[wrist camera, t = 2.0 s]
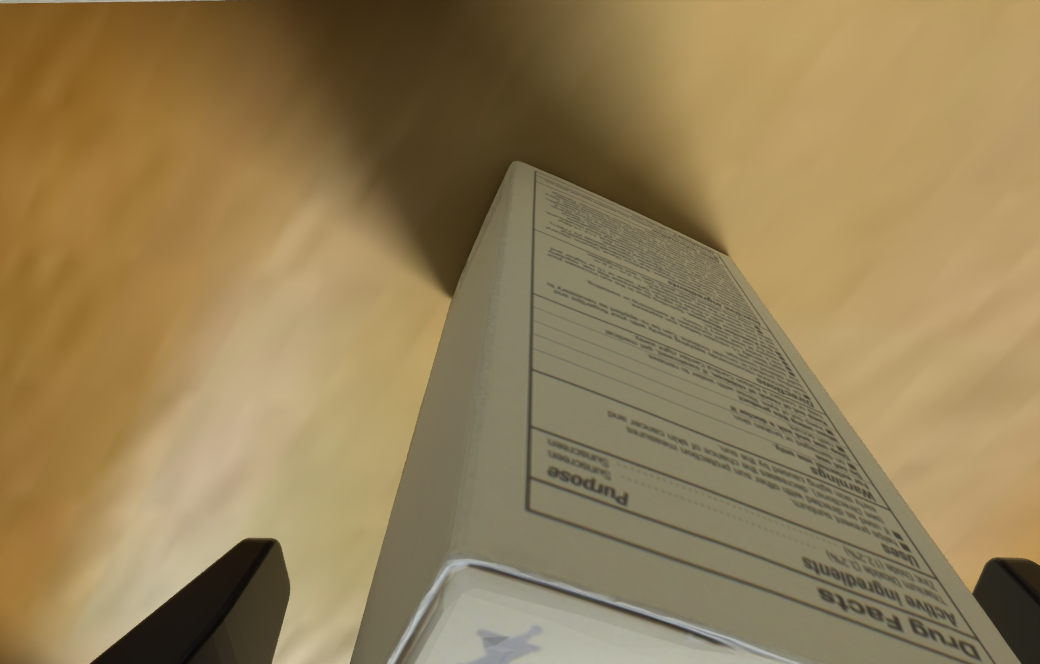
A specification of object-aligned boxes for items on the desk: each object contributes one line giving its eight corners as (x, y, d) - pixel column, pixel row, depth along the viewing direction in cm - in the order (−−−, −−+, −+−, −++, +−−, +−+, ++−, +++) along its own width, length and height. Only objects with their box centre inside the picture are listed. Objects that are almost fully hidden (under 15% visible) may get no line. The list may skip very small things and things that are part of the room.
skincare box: (447, 303, 17) (268, 836, 6) (516, 146, 15) (420, 540, 4) (660, 391, 18) (811, 983, 7) (750, 254, 16) (1135, 792, 5)
